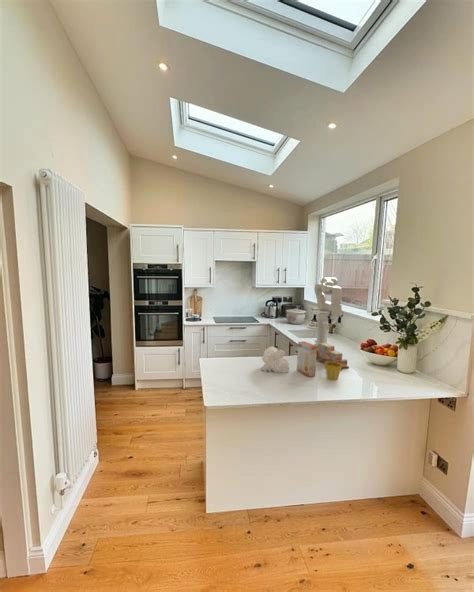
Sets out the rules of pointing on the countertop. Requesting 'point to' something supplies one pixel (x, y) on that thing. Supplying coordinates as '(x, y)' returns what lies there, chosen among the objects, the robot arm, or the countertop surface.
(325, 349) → the stack of blocks
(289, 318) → the chamber pot
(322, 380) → the countertop surface
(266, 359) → the cauliflower
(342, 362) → the cradle
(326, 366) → the plant pot
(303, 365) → the cracker box
